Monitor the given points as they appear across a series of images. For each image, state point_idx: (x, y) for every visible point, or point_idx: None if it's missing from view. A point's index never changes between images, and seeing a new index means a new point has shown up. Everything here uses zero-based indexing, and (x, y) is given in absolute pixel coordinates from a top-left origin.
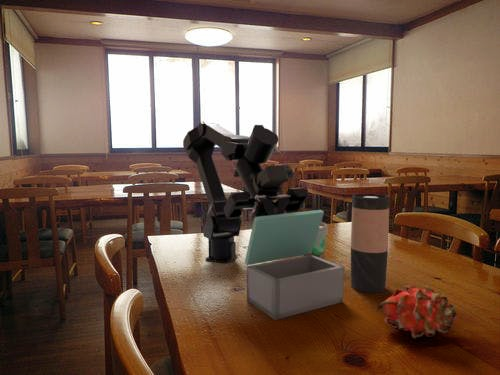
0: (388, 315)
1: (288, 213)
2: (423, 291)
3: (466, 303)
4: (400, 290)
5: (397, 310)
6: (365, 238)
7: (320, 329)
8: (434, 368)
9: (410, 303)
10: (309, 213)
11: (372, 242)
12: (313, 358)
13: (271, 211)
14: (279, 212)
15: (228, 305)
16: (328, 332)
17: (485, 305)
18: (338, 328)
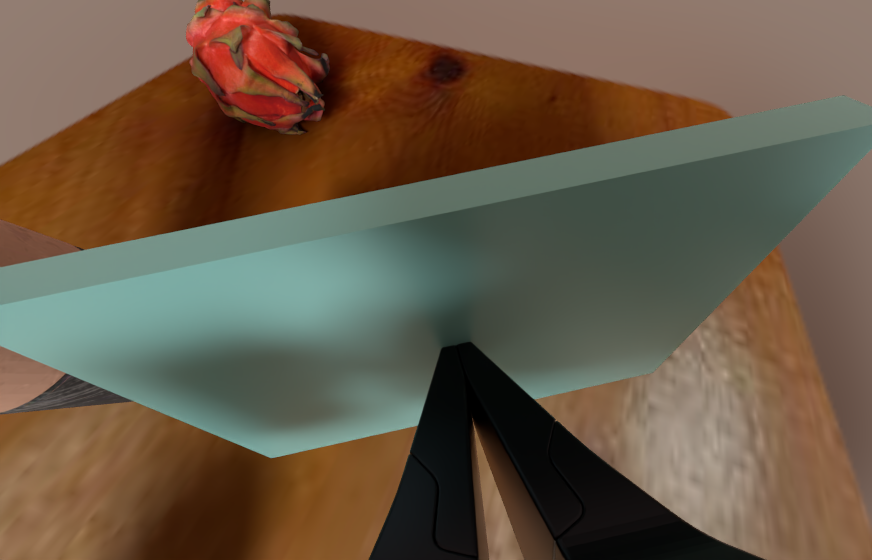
0: (311, 101)
1: (455, 209)
2: (223, 12)
3: (59, 178)
4: (248, 62)
5: (301, 66)
6: (12, 237)
7: (449, 163)
8: (346, 29)
9: (276, 30)
10: (188, 234)
11: (17, 226)
12: (509, 86)
13: (609, 512)
14: (463, 518)
15: None
16: (439, 149)
17: (36, 160)
18: (411, 157)
